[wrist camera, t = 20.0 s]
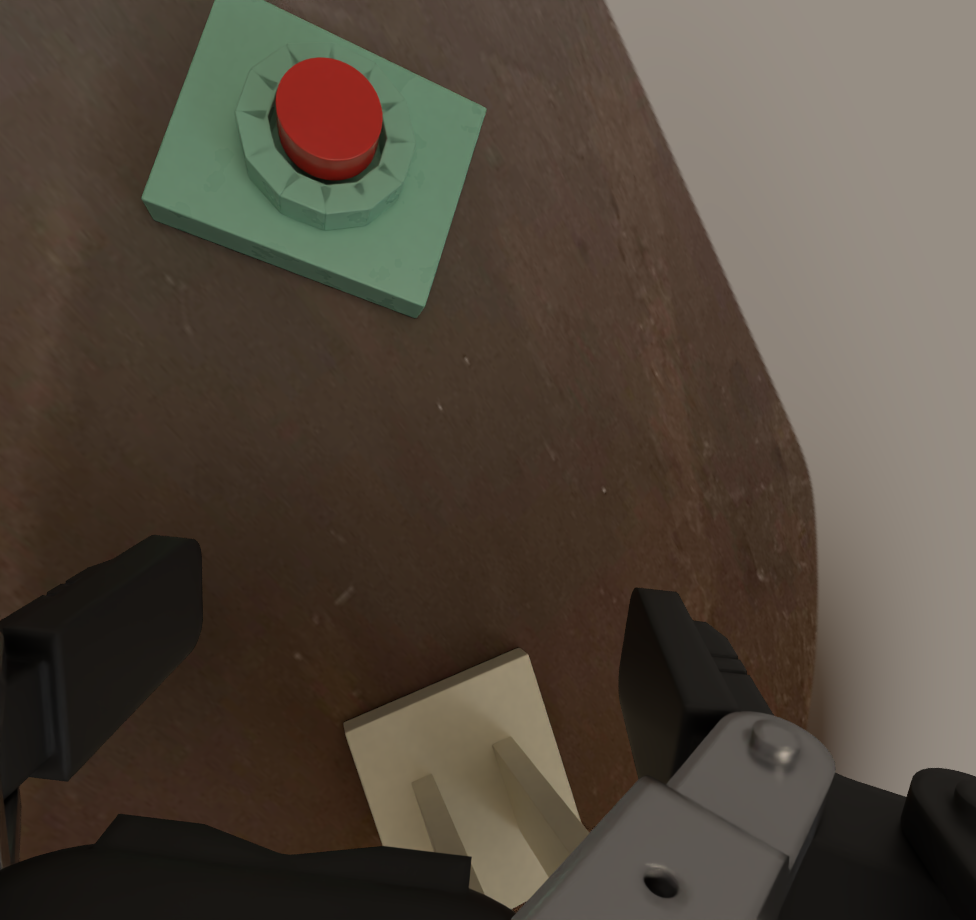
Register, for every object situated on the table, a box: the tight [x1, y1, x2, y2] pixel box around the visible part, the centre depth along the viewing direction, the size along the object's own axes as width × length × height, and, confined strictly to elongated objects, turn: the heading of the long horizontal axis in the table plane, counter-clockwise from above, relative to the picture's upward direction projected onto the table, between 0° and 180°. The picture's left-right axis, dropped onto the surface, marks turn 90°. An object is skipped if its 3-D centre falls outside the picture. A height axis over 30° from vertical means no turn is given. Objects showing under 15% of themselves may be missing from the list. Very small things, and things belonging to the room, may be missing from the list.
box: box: [141, 0, 486, 318], centre depth 27 cm, size 12×10×4 cm
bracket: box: [343, 648, 589, 909], centre depth 23 cm, size 11×9×16 cm
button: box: [276, 57, 383, 181], centre depth 25 cm, size 4×4×2 cm
